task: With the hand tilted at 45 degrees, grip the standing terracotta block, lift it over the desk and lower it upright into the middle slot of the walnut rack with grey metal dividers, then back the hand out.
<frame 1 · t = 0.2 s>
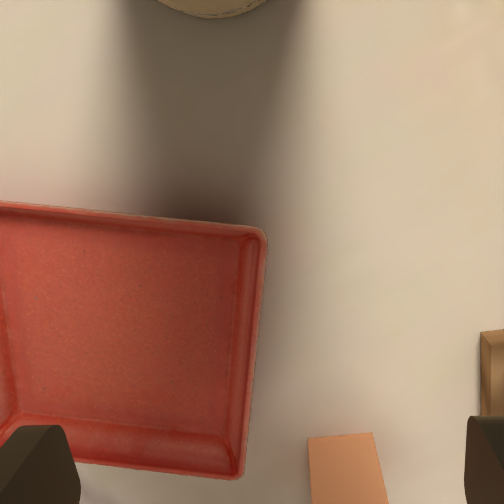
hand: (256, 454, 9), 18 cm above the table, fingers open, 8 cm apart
terracotta block: (343, 459, 33), on the table
plant saucer: (123, 324, 30), on the table
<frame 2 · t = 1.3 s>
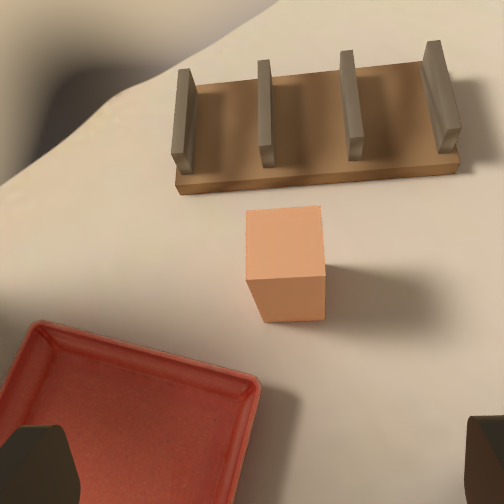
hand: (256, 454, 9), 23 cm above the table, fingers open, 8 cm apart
terracotta block: (292, 292, 34), on the table
plant saucer: (112, 482, 31), on the table
walnut rack: (308, 132, 40), on the table
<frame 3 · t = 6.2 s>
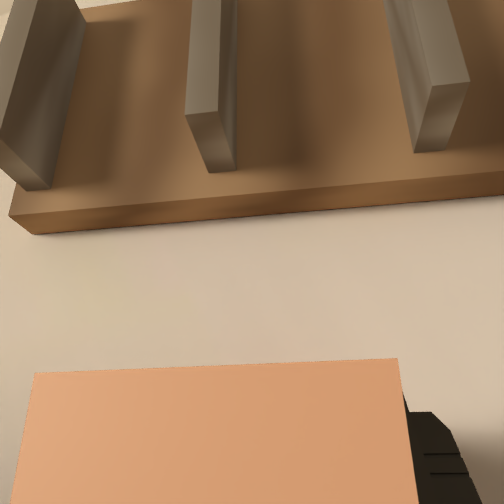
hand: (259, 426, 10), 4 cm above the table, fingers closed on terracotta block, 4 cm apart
walnut rack: (314, 94, 19), on the table
when the fingers open (7 cm above the table, at t = 12.2 s): terracotta block drops 1 cm, resting on walnut rack.
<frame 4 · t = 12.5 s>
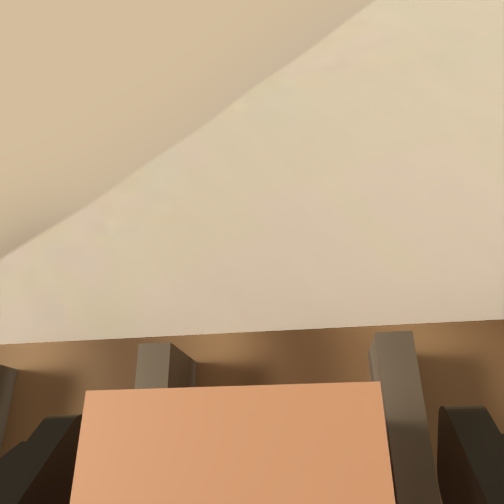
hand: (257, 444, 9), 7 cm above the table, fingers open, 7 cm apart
walnut rack: (289, 501, 15), on the table
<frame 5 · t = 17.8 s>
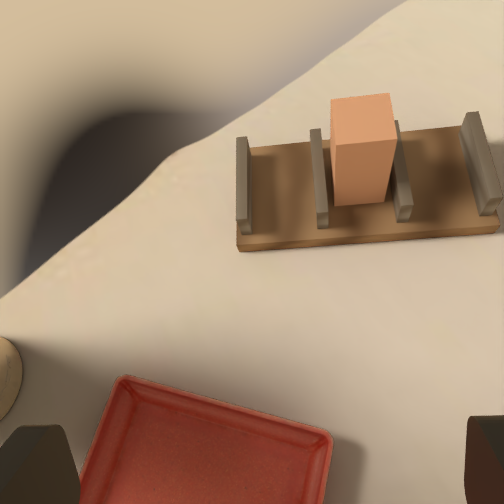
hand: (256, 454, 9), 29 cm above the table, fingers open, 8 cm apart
terracotta block: (356, 183, 43), point 1 cm above the table, touching walnut rack
walnut rack: (355, 192, 44), on the table
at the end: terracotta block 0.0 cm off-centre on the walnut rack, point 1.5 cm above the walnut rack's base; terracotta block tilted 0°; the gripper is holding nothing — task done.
